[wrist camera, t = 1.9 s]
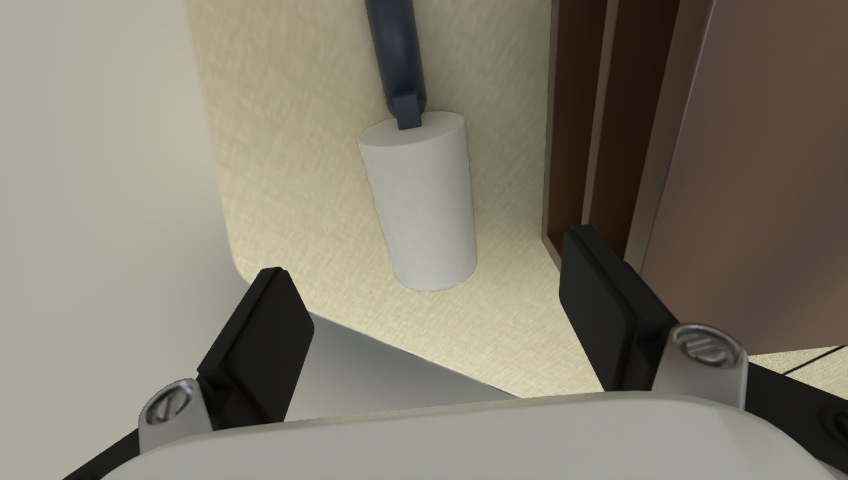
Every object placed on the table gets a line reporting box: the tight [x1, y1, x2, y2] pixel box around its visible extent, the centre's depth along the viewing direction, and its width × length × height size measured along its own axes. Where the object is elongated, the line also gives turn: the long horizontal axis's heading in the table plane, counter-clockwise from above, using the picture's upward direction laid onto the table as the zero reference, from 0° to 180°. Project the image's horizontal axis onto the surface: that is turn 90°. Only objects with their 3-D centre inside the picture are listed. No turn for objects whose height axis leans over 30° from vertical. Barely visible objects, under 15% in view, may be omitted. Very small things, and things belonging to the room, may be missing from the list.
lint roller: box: [358, 0, 477, 292], centre depth 18 cm, size 16×6×6 cm, turn 9°
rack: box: [542, 0, 848, 356], centre depth 15 cm, size 12×18×11 cm, turn 9°
